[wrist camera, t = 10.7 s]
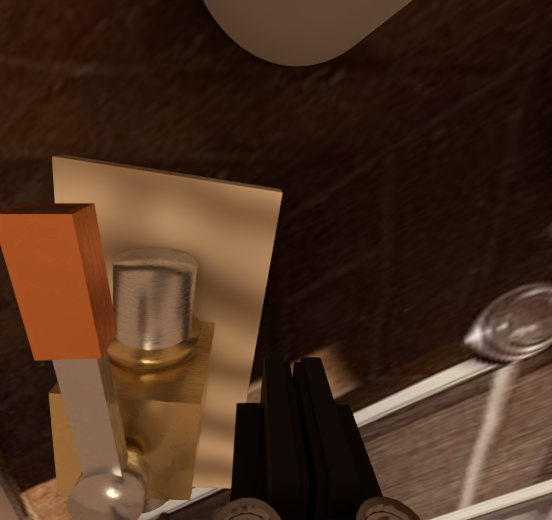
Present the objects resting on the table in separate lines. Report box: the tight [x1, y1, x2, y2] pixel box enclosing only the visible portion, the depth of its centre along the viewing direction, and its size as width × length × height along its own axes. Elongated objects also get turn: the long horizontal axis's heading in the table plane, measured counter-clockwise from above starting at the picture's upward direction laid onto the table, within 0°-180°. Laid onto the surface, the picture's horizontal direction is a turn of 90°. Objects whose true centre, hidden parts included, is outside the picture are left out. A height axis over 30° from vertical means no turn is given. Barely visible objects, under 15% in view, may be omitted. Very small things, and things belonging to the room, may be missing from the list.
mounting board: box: [52, 155, 282, 488], centre depth 28 cm, size 30×15×2 cm, turn 171°
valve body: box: [49, 248, 215, 513], centre depth 23 cm, size 20×8×10 cm, turn 171°
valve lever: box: [0, 203, 152, 520], centre depth 15 cm, size 17×4×2 cm, turn 0°
